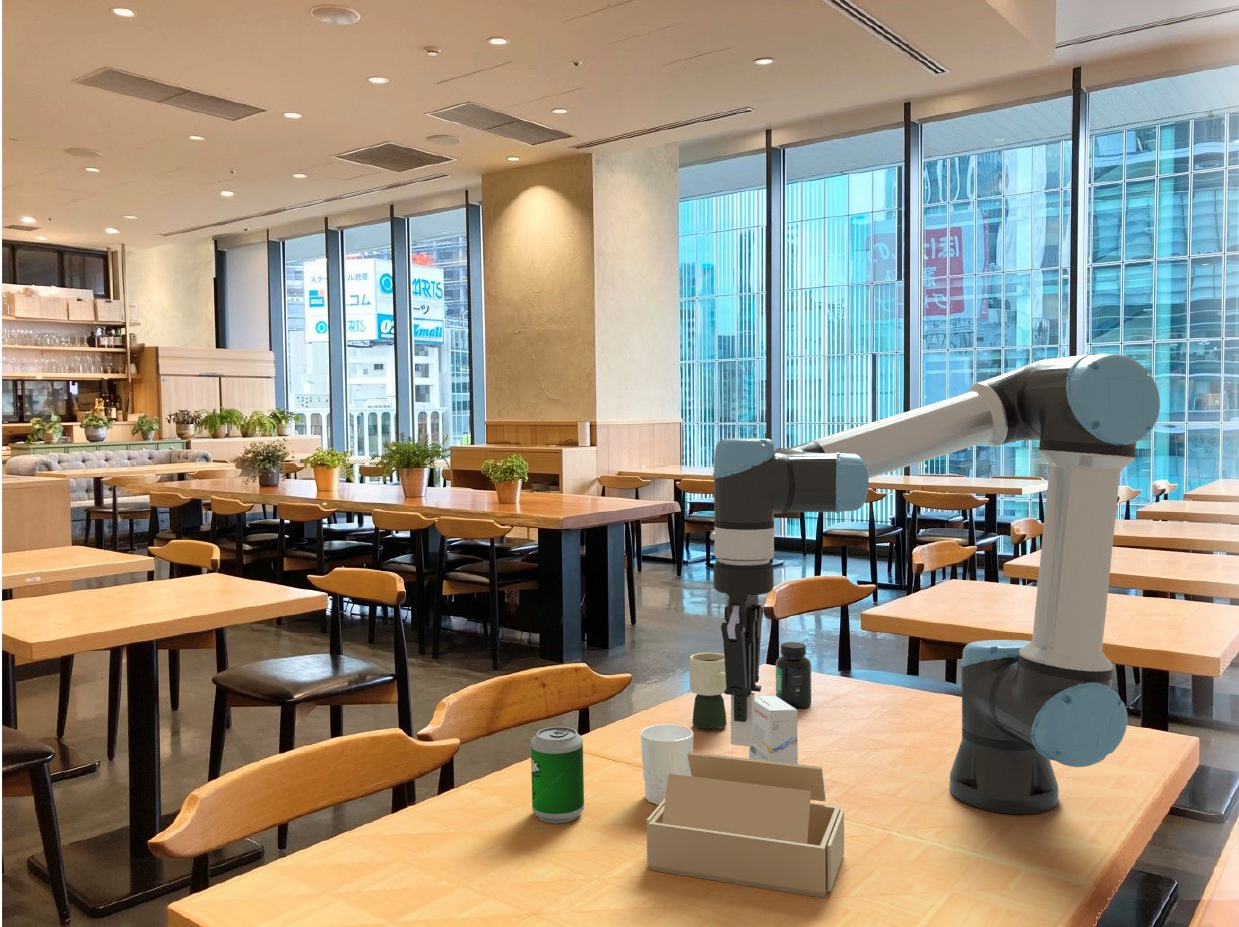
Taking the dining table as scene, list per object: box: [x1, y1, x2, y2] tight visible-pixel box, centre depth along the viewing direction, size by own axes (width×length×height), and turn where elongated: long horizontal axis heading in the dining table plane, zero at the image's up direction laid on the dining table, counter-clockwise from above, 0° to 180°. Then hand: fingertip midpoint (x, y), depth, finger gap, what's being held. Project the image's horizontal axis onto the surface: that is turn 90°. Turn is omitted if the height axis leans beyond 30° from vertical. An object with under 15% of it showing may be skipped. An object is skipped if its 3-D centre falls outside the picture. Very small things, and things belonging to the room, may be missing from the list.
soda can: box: [530, 726, 585, 824], centre depth 142 cm, size 8×8×12 cm
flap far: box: [687, 751, 826, 802], centre depth 131 cm, size 18×1×6 cm, turn 69°
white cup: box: [640, 723, 694, 806], centre depth 148 cm, size 8×8×10 cm
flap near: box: [662, 774, 811, 844], centre depth 121 cm, size 18×1×6 cm, turn 69°
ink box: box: [748, 695, 799, 764], centre depth 156 cm, size 8×5×12 cm, turn 16°
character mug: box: [689, 652, 728, 729], centre depth 180 cm, size 11×7×13 cm, turn 26°
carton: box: [646, 799, 845, 899], centre depth 127 cm, size 23×13×6 cm, turn 69°
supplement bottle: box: [775, 641, 812, 710], centre depth 193 cm, size 7×7×12 cm
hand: (742, 743), depth 126 cm, fingers closed
